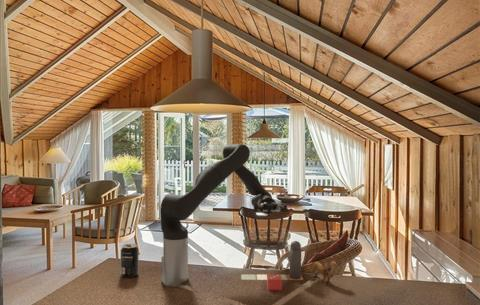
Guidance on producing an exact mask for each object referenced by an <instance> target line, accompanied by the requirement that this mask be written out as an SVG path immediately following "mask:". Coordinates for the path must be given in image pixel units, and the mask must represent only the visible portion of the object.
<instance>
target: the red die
mask: <svg viewBox="0 0 480 305" xmlns="http://www.w3.org/2000/svg"><path fill="white" fill-rule="evenodd" d="M266 275H267V280H266V288H267V291H283V280H282V277H281V275H282V274H266Z"/></svg>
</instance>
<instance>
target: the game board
mask: <svg viewBox="0 0 480 305" xmlns="http://www.w3.org/2000/svg"><path fill="white" fill-rule="evenodd" d="M267 275H268V274H241V275H240V278H241V280H242V281H247V280H248V281H261V280H262V281H267ZM280 275H281V277H282V281H304V278H303V276H302V275H301V278H300V279H292V278H290V277H289V274H280ZM311 287H312V283H311V281H310V280H307V281H305V282H304V283H303V284H301V285H300V286H299V288H311Z"/></svg>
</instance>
